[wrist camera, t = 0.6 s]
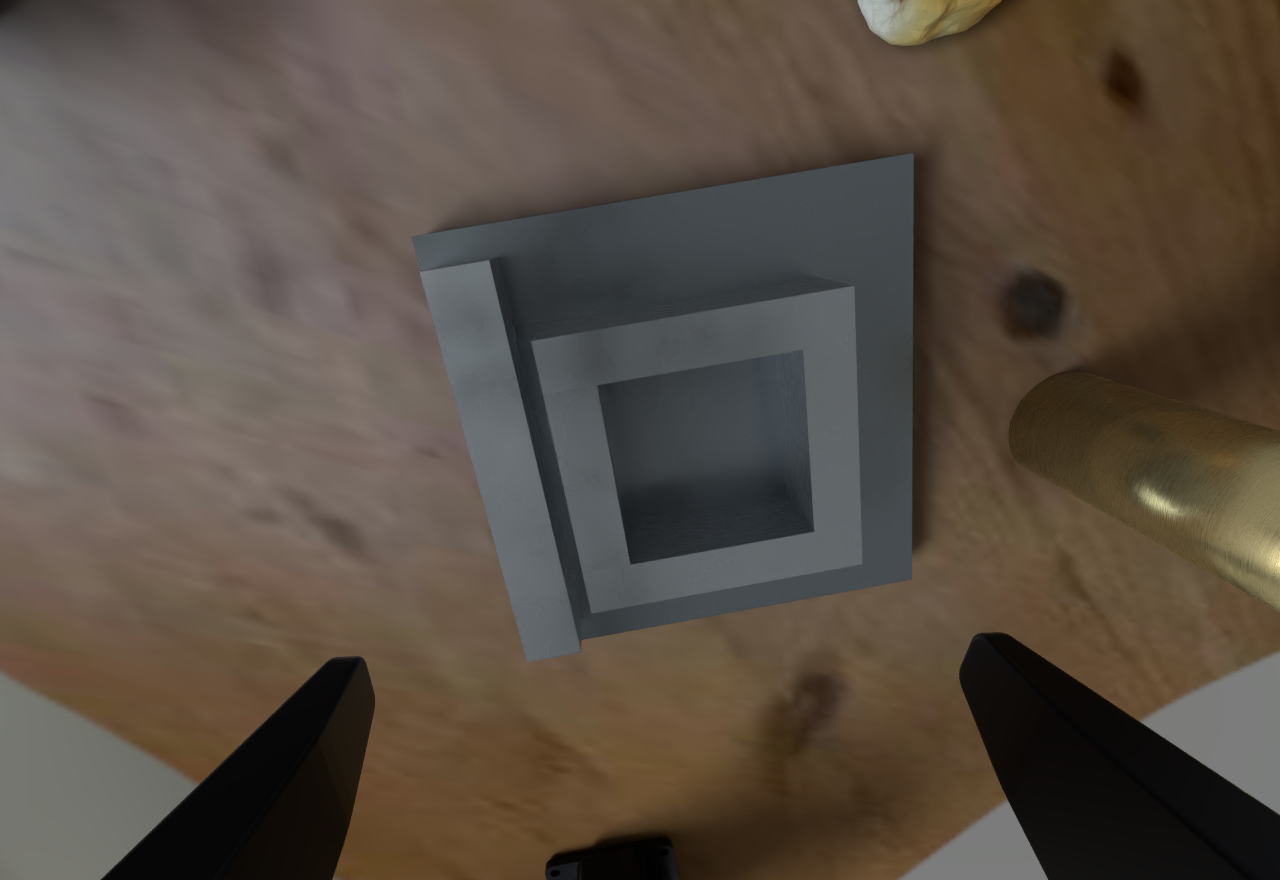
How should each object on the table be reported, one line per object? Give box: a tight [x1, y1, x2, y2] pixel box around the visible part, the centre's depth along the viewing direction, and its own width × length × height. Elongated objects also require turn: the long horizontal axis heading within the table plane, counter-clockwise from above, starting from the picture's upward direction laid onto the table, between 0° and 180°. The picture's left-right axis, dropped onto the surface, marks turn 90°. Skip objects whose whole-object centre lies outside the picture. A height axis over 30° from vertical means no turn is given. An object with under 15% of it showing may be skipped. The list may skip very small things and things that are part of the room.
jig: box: [412, 153, 914, 662], centre depth 21 cm, size 16×16×4 cm
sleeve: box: [1009, 371, 1280, 612], centre depth 18 cm, size 4×4×13 cm
